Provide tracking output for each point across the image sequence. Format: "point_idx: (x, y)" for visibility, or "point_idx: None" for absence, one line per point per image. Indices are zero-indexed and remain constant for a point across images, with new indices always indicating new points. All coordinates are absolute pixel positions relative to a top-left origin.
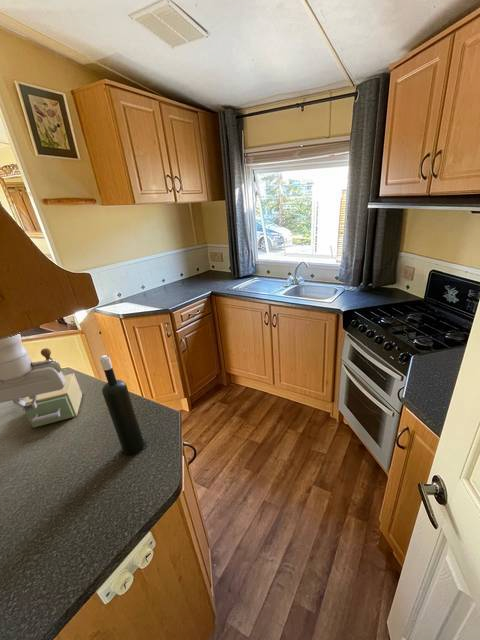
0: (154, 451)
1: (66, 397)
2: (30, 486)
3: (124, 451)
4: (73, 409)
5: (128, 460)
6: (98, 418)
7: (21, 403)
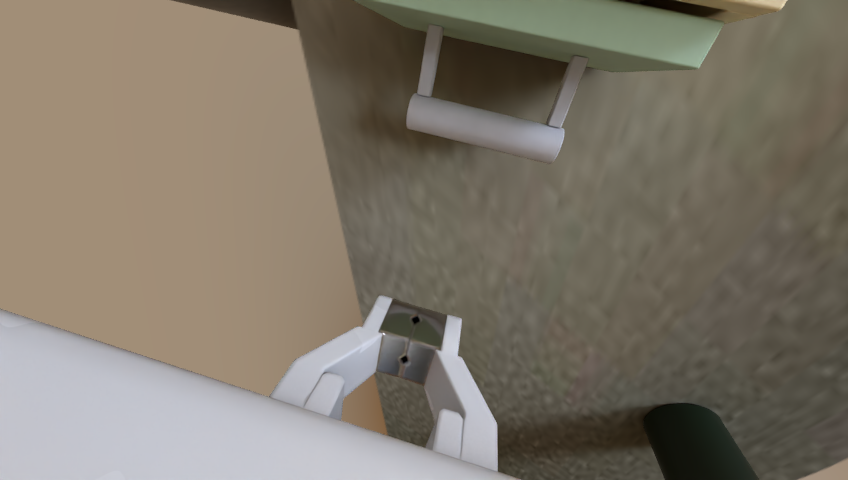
0: None
1: (710, 32)
2: None
3: (648, 438)
4: None
5: (635, 443)
6: (707, 173)
7: (354, 382)
